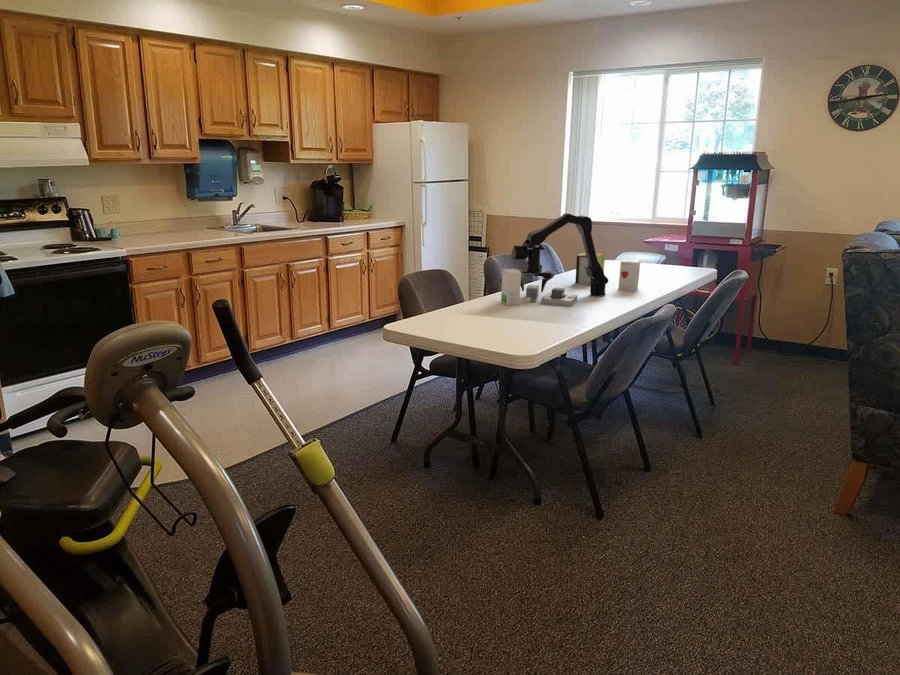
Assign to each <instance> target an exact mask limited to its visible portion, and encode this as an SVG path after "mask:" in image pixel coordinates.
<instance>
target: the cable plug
mask: <svg viewBox="0 0 900 675" xmlns="http://www.w3.org/2000/svg"><path fill="white" fill-rule="evenodd" d="M524 302H525V303H526V302H527V303H537V300H531V297H526V296H525V297H524Z"/></svg>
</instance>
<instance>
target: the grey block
mask: <svg viewBox="0 0 900 675" xmlns="http://www.w3.org/2000/svg"><path fill="white" fill-rule="evenodd" d="M551 293H552V295H551V297H554V298H564V294H565V288H562V287H553V288H552V289H551Z"/></svg>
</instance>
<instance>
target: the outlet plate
mask: <svg viewBox="0 0 900 675" xmlns="http://www.w3.org/2000/svg"><path fill="white" fill-rule="evenodd" d="M551 295H552V292H547V293H545V295H544V296H542V297H541V298H540V304H541V305H549V304H550V305H549V306H551V305H552V306H560V305H562V306H561V307H572V306H573V305H574V304H575V303H576V302H577V301H578V295H577V294H568V293H567V294H566V293H564V298H554V297H551Z"/></svg>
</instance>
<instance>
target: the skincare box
mask: <svg viewBox="0 0 900 675" xmlns="http://www.w3.org/2000/svg"><path fill="white" fill-rule="evenodd" d="M517 269H518V268H502V279H501V280H502V281H501V294H500V295H501V297H500V302H501V303H502V304H504V305H505V306H507V307H508V306H520V300H521V299H520V298H521V297H520V295H521V286H520V285H521V272H520V271H519V270H517Z"/></svg>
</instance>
